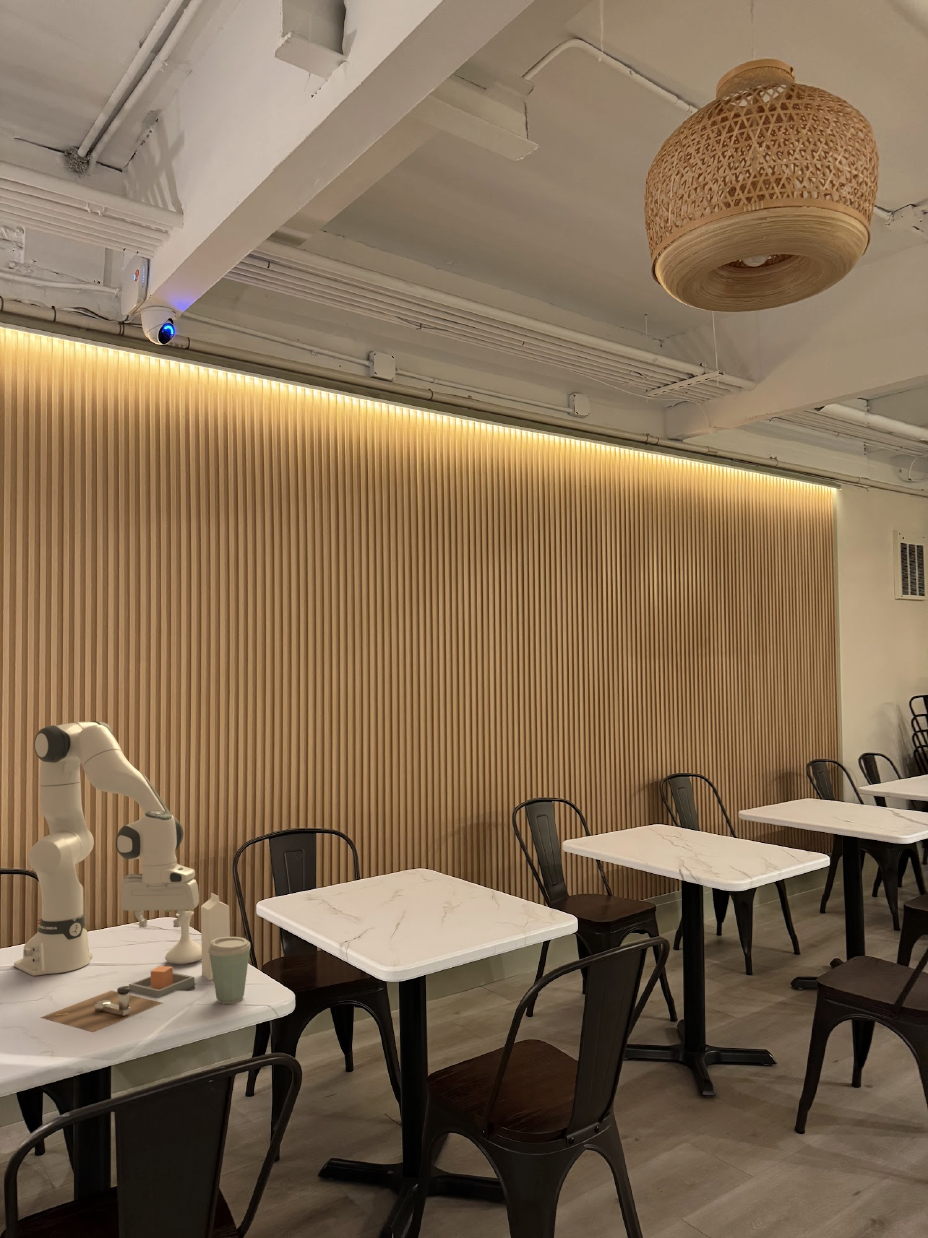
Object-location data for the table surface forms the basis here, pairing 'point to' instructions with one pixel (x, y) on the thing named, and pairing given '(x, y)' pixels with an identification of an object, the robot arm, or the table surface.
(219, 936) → the milk
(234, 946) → the disposable coffee cup
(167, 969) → the orange block
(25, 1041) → the table surface
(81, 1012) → the plate
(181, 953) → the flower in vase
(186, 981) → the tray
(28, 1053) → the table surface
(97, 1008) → the crank
